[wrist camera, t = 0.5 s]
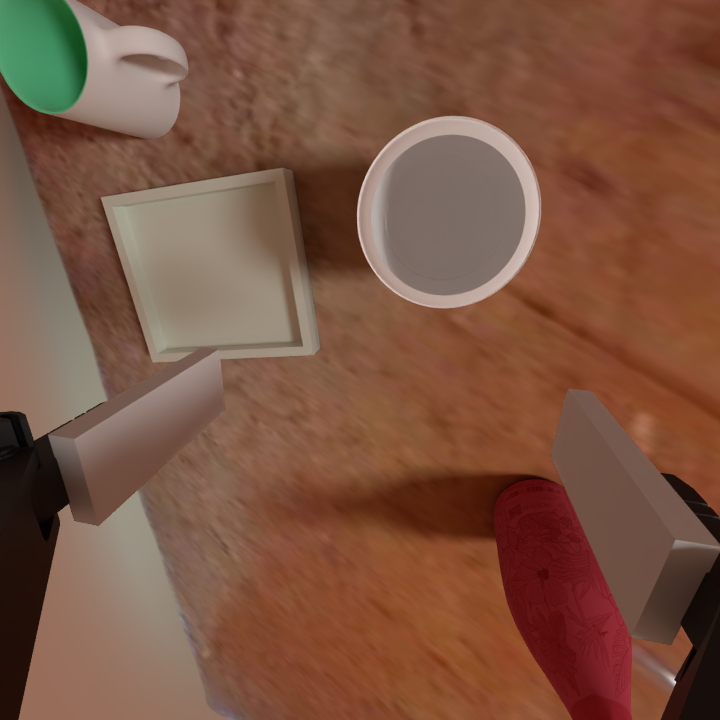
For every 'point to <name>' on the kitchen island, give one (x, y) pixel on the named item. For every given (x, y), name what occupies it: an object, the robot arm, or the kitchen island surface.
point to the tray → (217, 266)
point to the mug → (91, 67)
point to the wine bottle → (563, 600)
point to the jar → (449, 212)
